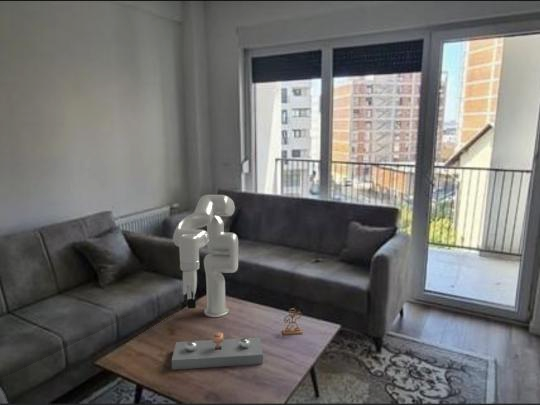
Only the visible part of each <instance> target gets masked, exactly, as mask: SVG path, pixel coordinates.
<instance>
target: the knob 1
mask: <svg viewBox="0 0 540 405" xmlns="http://www.w3.org/2000/svg"><path fill="white" fill-rule="evenodd" d="M195 341H196V340H188V342H187V343H186V351H188V352H193V351H195V350H196V349H197V344H196V342H195Z"/></svg>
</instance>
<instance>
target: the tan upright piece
mask: <svg viewBox="0 0 540 405" xmlns="http://www.w3.org/2000/svg"><path fill="white" fill-rule="evenodd" d="M297 316H298V317H297ZM301 316H302V312H301V311H297V310H296V309H295V307H293V308H289V310H288V315H286V316H285V317H284V318H283V322H284V323H285V324H287V323H288V324H287V326H286V328H283V329H282V334H283V336H291V335H296V336H297V335H303V329H302V328H300V327H299V326H298V324H297V320H298V319H300V318H301ZM288 317H290V318H291V319H290V318H288ZM294 318H295V319H294ZM290 324H292V325H291V326H290ZM293 324H295V325H296V327H295V326H294V325H293ZM292 327H293V328H292Z"/></svg>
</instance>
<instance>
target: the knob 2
mask: <svg viewBox="0 0 540 405" xmlns="http://www.w3.org/2000/svg"><path fill="white" fill-rule="evenodd" d="M240 338H241V339H240V340H239V347H240V348H243V349H246V348H249V347H250V339H248V338H249V337H240Z"/></svg>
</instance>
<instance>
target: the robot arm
mask: <svg viewBox="0 0 540 405" xmlns="http://www.w3.org/2000/svg"><path fill="white" fill-rule="evenodd" d="M235 209H236V208H235V202H234V200H233V199H232V198H230V196H228V195H224V194H205V195H202V196H200V198H199V200H198V203H197V205H196V207H195V209H194V212H193V213H191V214H189V215H187V216H185V217H184V218H183V219H181V220H180V221H179V222H178V223H177V225H176V228H175V230H174V233H173V235H172V236H173V237H172V238H173V239H172V241H173V244H174V245H175V246H176V247H179V248H178V249H179V268H180V271H182V295H184V296H185V295H186V296H187V299H186V300H187V302H186V303H187V305H186V306H187V309H196V306H197V303H196V302H197V301H196V292H197V287H198V286H197V285H198V270H199V269H200V252H199V251H200V249H203V248H204V247H205V246H206V245H207V249H208V250H209V251H213V252H228V253H213V252H212V253H209V254H207V255H205V256H204V258H203V265H204V266H203V267H204V272H205V280H206V281H205V283H206V307H205V309H204V312H203V313H204V315H205V316H207V317H210V318H220V317H224V316H226V315H228V314H229V312H230V311H229V308H228V307H227V305H226V281H225V279H226V278H225V277H224V275H223V274H222V273H226V274H228V273H231V274H232V273H236V272H237V271H238V268H239V238H238V235H237V234H236V233H234V232H225V231H224V230H225V228H224V226H225V223H224V220H223V219H222V217H231V216H233V215H234V213H235V211H236V210H235ZM204 227H206V229H207V230H204V229H202V228H204Z"/></svg>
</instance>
